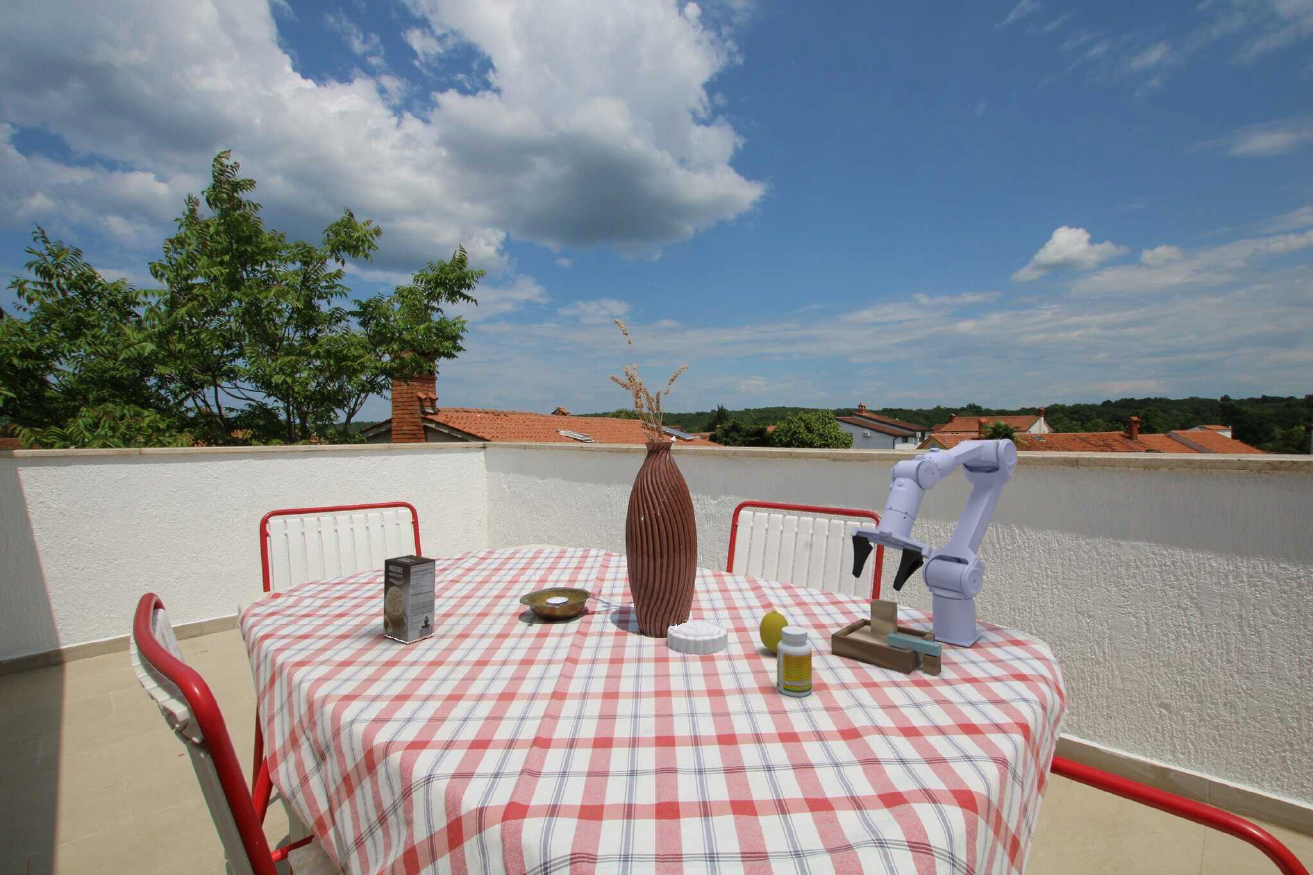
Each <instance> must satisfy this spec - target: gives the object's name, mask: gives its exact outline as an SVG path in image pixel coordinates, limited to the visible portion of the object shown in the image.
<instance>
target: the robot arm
mask: <svg viewBox="0 0 1313 875" xmlns="http://www.w3.org/2000/svg"><path fill="white" fill-rule="evenodd" d="M1017 451H1018V450H1017V446H1016V445H1015V443H1014V442H1013V441H1012V440H1011V439H1009V438H1003V439H979V440H978V439H976V440H971V439H965V440H963V441H959V442H958V445H955V446H954V447H952V448H949V449H948V450H944V449H940V448H939V447H932V448H930V449H928V452H927V453H925V454H916V455H915V456H914V458H913V459H911V460H907V459H906V460H900V461H898V462H897V463H896V464H895V465H894V466H892V467H891V469H890V484H889V495H888V498H887V500H886V504H885V506H884V509H883V512H882V514H881V517H880V520H879V523H878V525H877V528H876V529H874V528H867V527H866V528H865V527H859V526H855V525H853V527H852V529H851V532H850V534H849V535H850V537H851V541H852V548H853V565H852V572H851V575H853V577H854V578H857V579H860V577H861V575H862V572H863V569H864V567H865V564H866V562H867V559H868V558H869V556H870V554H871V553H872V551H873V550H874V546H872V544H875V545H878V546H883V547H887V548H889V549H890V548H891V549H894V550H898V551H901V552H902V553H901V558H900V562H899V566H898V569H897V572H896V575H895V578H894V580H893V582H892V588H893V589H894V590H895V591H896V592H901V589H902V588H903V586H905V583H906V582H907V581H908V580H909V578H910V577H911V576H912V575H913V574H914V573H915V572H916V571H917V570H919V569H920V568H921V567H922V570H921V576H922V581H923V583H924V585H925V586H926V587H927V588H928V592H929V593H931V594H932V595H931V596H932V597H931V598H932V600H931V601H932V631H931V632H929V633H934V634H935V641H938V642H943V643H947V644H953V645H957V646H960V647H961V646H962V647H966V648H970V647H972V645H973V644H975V643H976V642H977V641H978V640H980V638H981V637H982V633H979V632H977V614H976V611H977V610H976V608H977V607H976V603H975V600H974V598H977V595H978V594H980V592H981V591H982V587H983V584H984V581H983V580H984V574H985V572H986V567H985V565H984V564H983V561H981V559H980V558H979V557H978V555H977V553H978V551H979V549H980V546H981V544H982V541H983V539H984V537H985V534H986V532H987V530H988V528H989V525H990V523H991V520H992V517H993V515H994V512H995V510H996V508H997V505H998V504H999V501H1000V499H1001V496H1002V494H1003V491H1004V487H1005V484H1008V483H1009V482H1011V479H1012V476H1013V473H1014V471H1015V469H1016V467H1017V464H1018V461H1019V460H1018V452H1017ZM957 466H958V467H959V466H961V468H962V470H963V472H964V475H965V478H966V480H967V481H968V482H970V483H971V484H973V488H972V490H971V493H970V494H969V497H968V500H967V502H966V504H965V506H964V509H963V511H962V513H961V515H960V517H959V520H958V521H957V524H956V527H955V529H954V531H953V533H952V536H951V538H950V539H949V543H948V544H947V545H944V546H942V547H939V548H938V549H935V550H934V551H933V548H932V547H931V545H928V544H924V543H922V542H918V541H915V540H913V539H911V538H910V536H911V533H912V530H913V528H914V525H915V522H916V519H917V516H918V513H919V511H920V507H921V505H922V501H923V499H924V496H925V493H926V491H932V490H934V488H935V487H936V485H937V482H938V481H940V480H942V479H944V478H946V477H949V476H951V475H952V474H953V473H954V472H955V470H956V468H957ZM871 543H872V544H871ZM924 559H927V560H926V561H925V562H924Z"/></svg>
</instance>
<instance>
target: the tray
mask: <svg viewBox="0 0 1313 875" xmlns="http://www.w3.org/2000/svg"><path fill="white" fill-rule="evenodd" d="M865 625H868V626H871V619H867V618H861V619H859V620H856V621H855V622H853V623H851V624H849V625H847V626H845V627H844V628H841V629H840V630H838V631H835V632H833V633H832V634H830V635H831V636H830V637H831V640H830V642H831V655H835V656H838V657H842V658H844V659H845V658H846V659H848V660H849V659H850V660H854V661H856V662H860V663H864V664H868V665H872V666H876V667H880V668H883V669H887V670H891V671H895V672H897V673H898V672H899V673H902V674H906V675H910V674H912V673H913V672H915V670H916V669H918V668H919V667H920V666H921V665H922V670H923V671H922V673H923V674H927V675H930V676H934V677H936V676H938V675H939V673H941V672H942V653H941V654H940V655H939V656H934V655H930V654H925V653H921V652H917V651H914V649H910V648H907V649H906V650H901V649H897V648H893V647H889V646H885V645H880V644H876V643H872V642H868V641H864V640H860V639H855V638H851V637H847V635H849V634H851V633H853V632H854V631H856V630H858V629H860V628H862V627H864V626H865ZM898 632H900V633H905V634H909V635H914V636H918V637H923V638H921V640H926V641H930V642H935V643H936V640H935V634H934V633H930V632H928V631H924V630H918V629H915V628H910V627H906V626H900V625H898Z"/></svg>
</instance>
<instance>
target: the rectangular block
mask: <svg viewBox="0 0 1313 875" xmlns="http://www.w3.org/2000/svg"><path fill="white" fill-rule="evenodd" d="M887 645H891V646H896V647H900V648H904V649H907V648H910V649H914V651H917V652H921V653H925V654H930V655H934V656H939V655H940V654H941V655H942V653H943V651H942V648H943V647H942V643H939V642H936V641H935V642H930V641H926V640H921V639H916V638H912V637H907V636H903V635H898V634H894V633H890V634H889V635H887Z"/></svg>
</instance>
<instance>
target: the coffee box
mask: <svg viewBox="0 0 1313 875" xmlns="http://www.w3.org/2000/svg"><path fill="white" fill-rule="evenodd" d="M436 562H437V561H436V559H435V558H434V559H433V558H430V557H429V558H428V557H424V556H421V555H420V556H418V555H416V554H415V555H414V554H409V555H408V554H407V555H404V556H403V555H402V556H398V557H392V558H387V559H386V558H385V559H384V573H383V574H384V575H383V576H384V578H383V579H384V580H383V582H384V584H383V585H384V586H383V623H382V624H383V630H382V631H383V634H384V635H388V636H391V637H393V638H397V639H399V640H403V641H405V642H411V641H413V640H416V639H419V638H422V637H424V636H427V635H431V634H432V633H434V634H435V614H436V613H435V612H436V608H435V607H436V606H435V604H436V602H435V601H436V597H435V596H436Z"/></svg>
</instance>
